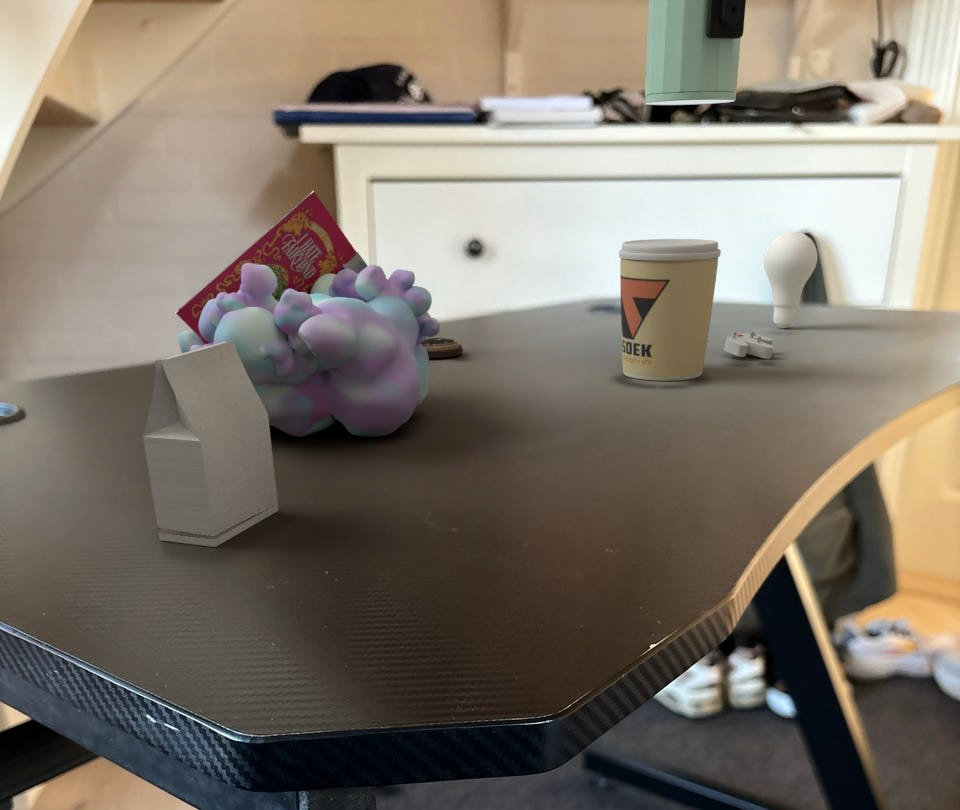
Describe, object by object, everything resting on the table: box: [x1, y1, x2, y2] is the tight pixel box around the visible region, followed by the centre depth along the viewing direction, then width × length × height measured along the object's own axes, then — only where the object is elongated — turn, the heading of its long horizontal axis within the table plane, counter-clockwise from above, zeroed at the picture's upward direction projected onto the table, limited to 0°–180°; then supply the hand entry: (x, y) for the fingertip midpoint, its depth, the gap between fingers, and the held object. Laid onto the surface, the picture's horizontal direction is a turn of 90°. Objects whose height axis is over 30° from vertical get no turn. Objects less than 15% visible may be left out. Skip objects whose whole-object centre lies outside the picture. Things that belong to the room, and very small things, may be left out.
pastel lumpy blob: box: [175, 190, 441, 438], centre depth 79 cm, size 20×22×18 cm
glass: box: [644, 0, 741, 106], centre depth 84 cm, size 8×8×9 cm
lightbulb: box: [763, 231, 818, 329], centre depth 121 cm, size 6×6×11 cm
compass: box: [420, 337, 464, 359], centre depth 110 cm, size 8×8×7 cm
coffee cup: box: [618, 238, 722, 382], centre depth 96 cm, size 9×9×12 cm
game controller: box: [707, 330, 774, 360], centre depth 107 cm, size 6×12×3 cm, turn 61°
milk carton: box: [142, 341, 279, 548], centre depth 57 cm, size 4×7×10 cm, turn 160°
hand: (693, 42), depth 84 cm, fingers closed on glass, 7 cm apart
